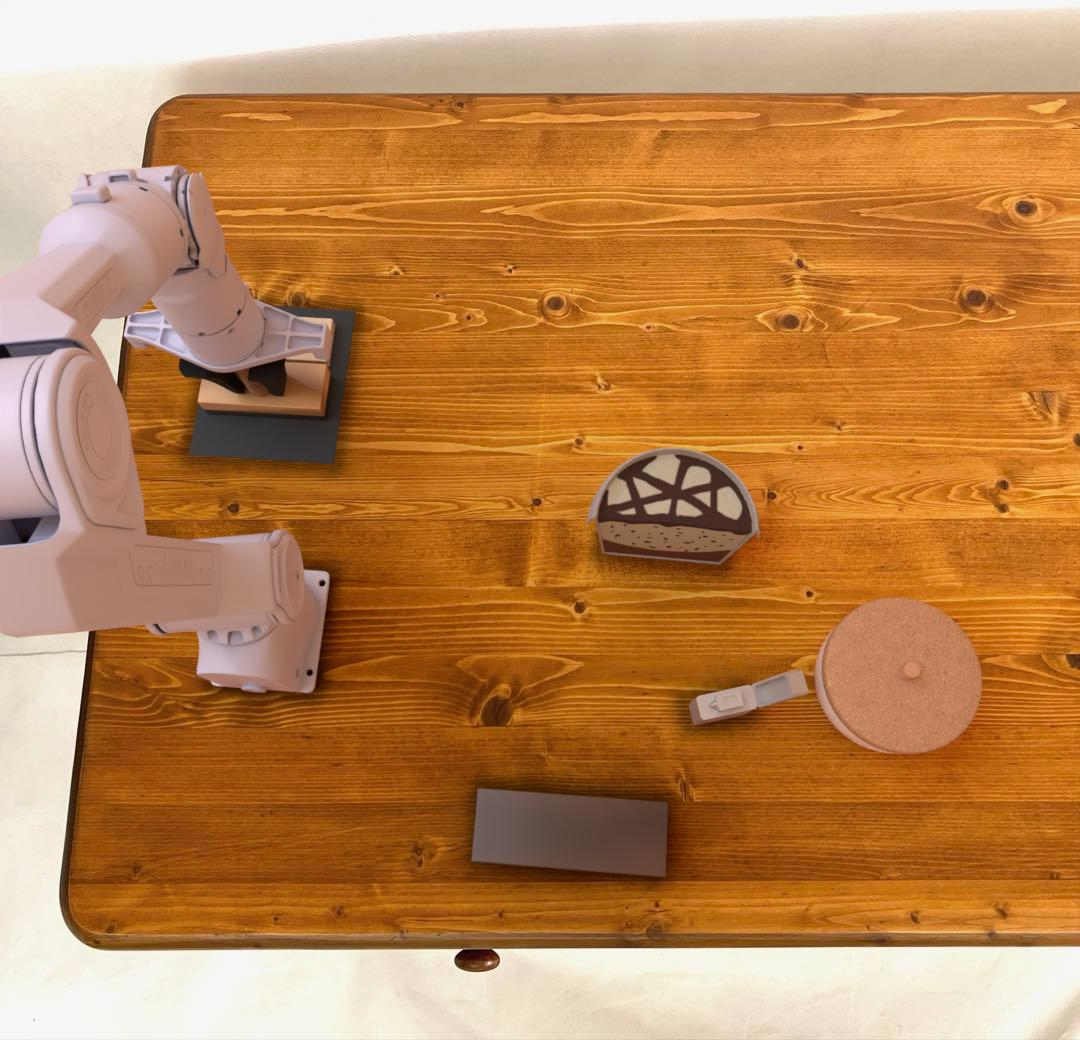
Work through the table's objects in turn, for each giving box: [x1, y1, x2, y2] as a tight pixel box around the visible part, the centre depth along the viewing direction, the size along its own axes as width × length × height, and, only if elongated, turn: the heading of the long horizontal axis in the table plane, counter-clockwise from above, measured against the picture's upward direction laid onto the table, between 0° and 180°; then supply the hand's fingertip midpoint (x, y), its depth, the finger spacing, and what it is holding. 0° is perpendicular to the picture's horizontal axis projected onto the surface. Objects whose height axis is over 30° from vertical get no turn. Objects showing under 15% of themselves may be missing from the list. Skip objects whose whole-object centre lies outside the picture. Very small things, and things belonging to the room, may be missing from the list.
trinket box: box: [813, 596, 983, 755], centre depth 70 cm, size 11×11×9 cm
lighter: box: [688, 669, 809, 726], centre depth 70 cm, size 7×2×8 cm, turn 102°
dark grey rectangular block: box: [470, 787, 669, 878], centre depth 69 cm, size 5×13×6 cm, turn 86°
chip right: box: [285, 317, 335, 367], centre depth 82 cm, size 4×4×1 cm
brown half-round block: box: [586, 446, 761, 566], centre depth 73 cm, size 12×6×10 cm, turn 84°
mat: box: [188, 305, 356, 465], centre depth 82 cm, size 14×12×1 cm
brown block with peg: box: [197, 362, 333, 421], centre depth 78 cm, size 4×10×8 cm, turn 86°
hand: (261, 383), depth 79 cm, fingers closed on brown block with peg, 2 cm apart
